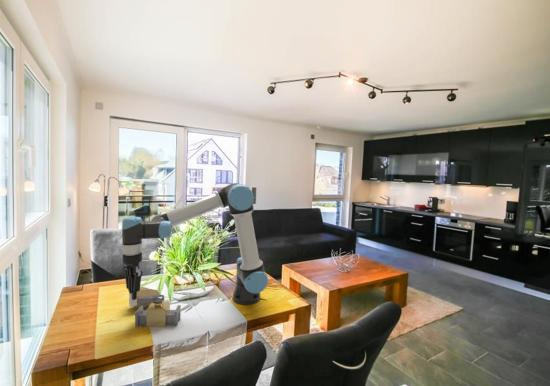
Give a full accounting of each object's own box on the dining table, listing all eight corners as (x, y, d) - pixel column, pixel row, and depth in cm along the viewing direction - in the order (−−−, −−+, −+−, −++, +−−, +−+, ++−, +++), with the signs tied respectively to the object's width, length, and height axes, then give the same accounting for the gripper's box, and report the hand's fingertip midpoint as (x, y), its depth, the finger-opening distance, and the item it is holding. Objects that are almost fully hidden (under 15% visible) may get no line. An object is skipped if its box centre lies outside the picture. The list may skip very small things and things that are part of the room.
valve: (180, 317, 130) (180, 297, 130) (177, 326, 123) (177, 304, 123) (140, 318, 128) (140, 298, 128) (134, 327, 121) (134, 305, 121)
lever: (165, 299, 128) (165, 294, 128) (162, 304, 123) (162, 298, 123) (132, 300, 126) (132, 295, 126) (128, 305, 121) (128, 299, 121)
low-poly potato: (122, 312, 134) (133, 307, 128) (124, 288, 139) (135, 283, 133) (152, 310, 145) (164, 306, 139) (153, 288, 150) (164, 283, 144)
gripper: (148, 254, 118) (149, 307, 120) (134, 248, 126) (135, 298, 128) (130, 258, 112) (131, 314, 114) (116, 251, 120) (117, 304, 122)
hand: (133, 305), depth 121 cm, fingers closed
